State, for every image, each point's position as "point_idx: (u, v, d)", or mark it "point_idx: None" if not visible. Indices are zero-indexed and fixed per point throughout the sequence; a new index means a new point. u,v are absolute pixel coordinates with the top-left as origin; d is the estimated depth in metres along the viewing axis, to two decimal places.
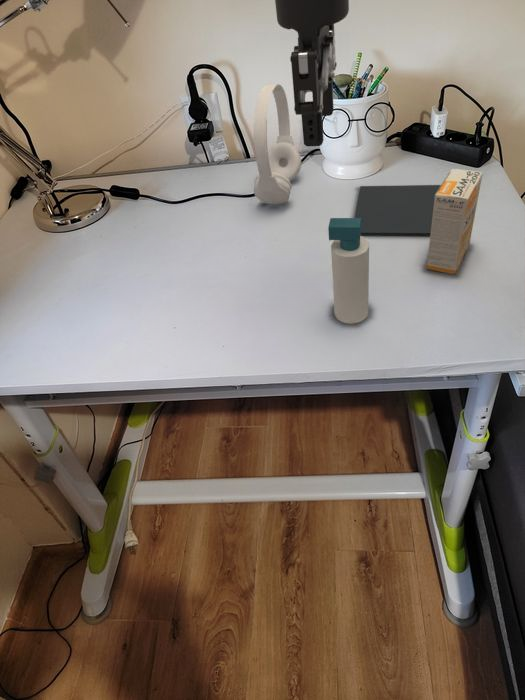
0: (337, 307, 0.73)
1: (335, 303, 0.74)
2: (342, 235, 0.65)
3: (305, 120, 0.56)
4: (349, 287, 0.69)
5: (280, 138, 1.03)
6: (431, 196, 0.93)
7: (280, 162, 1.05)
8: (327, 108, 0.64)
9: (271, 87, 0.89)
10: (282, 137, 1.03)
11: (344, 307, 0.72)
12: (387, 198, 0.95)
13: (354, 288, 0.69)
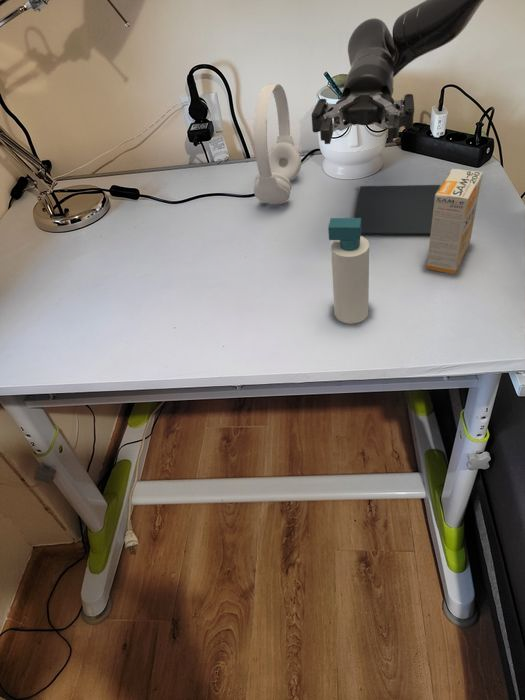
0: (337, 307, 0.73)
1: (335, 303, 0.74)
2: (342, 235, 0.65)
3: None
4: (349, 287, 0.69)
5: (280, 138, 1.03)
6: (431, 196, 0.93)
7: (280, 162, 1.05)
8: None
9: (271, 87, 0.89)
10: (282, 137, 1.03)
11: (344, 307, 0.72)
12: (387, 198, 0.95)
13: (354, 288, 0.69)
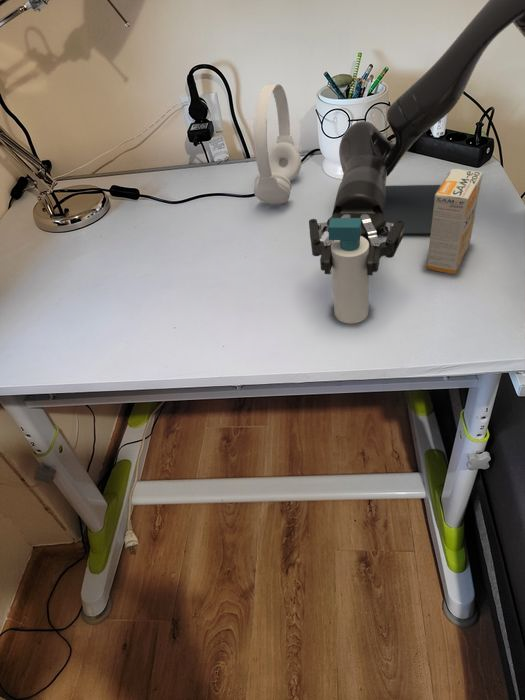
0: (337, 307, 0.73)
1: (335, 303, 0.74)
2: (342, 235, 0.65)
3: None
4: (349, 287, 0.69)
5: (280, 138, 1.03)
6: (431, 196, 0.93)
7: (280, 162, 1.05)
8: None
9: (271, 87, 0.89)
10: (282, 137, 1.03)
11: (344, 307, 0.72)
12: (387, 198, 0.95)
13: (354, 288, 0.69)
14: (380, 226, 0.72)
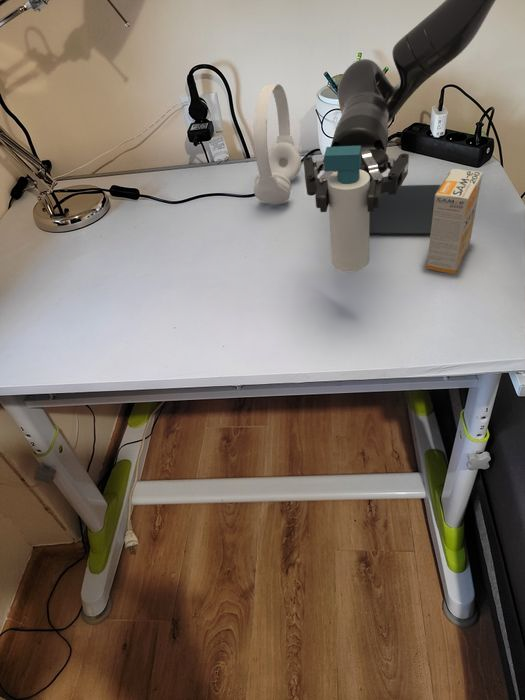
0: (334, 252, 0.67)
1: (332, 249, 0.67)
2: (339, 165, 0.58)
3: None
4: (348, 227, 0.62)
5: (280, 138, 1.03)
6: (431, 196, 0.93)
7: (280, 162, 1.05)
8: None
9: (271, 87, 0.89)
10: (282, 137, 1.03)
11: (342, 252, 0.65)
12: (387, 198, 0.95)
13: (353, 229, 0.63)
14: (382, 162, 0.65)
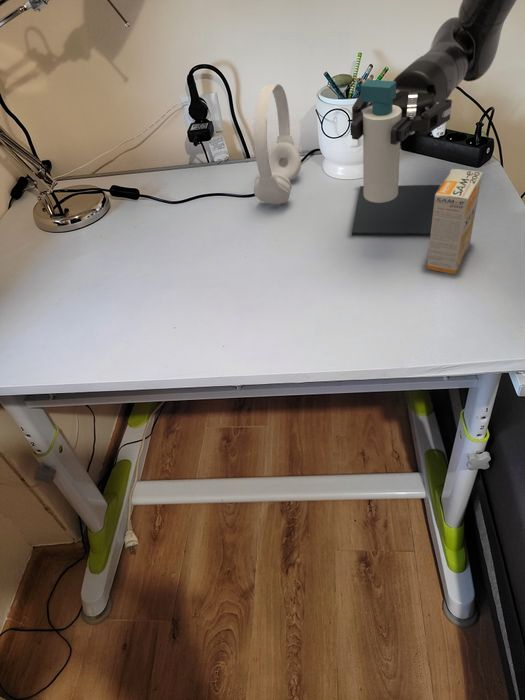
0: (364, 182, 0.74)
1: (363, 178, 0.74)
2: (373, 96, 0.65)
3: None
4: (374, 157, 0.70)
5: (280, 138, 1.03)
6: (431, 196, 0.93)
7: (280, 162, 1.05)
8: None
9: (271, 87, 0.89)
10: (282, 137, 1.03)
11: (368, 182, 0.73)
12: None
13: (378, 159, 0.70)
14: (426, 104, 0.70)
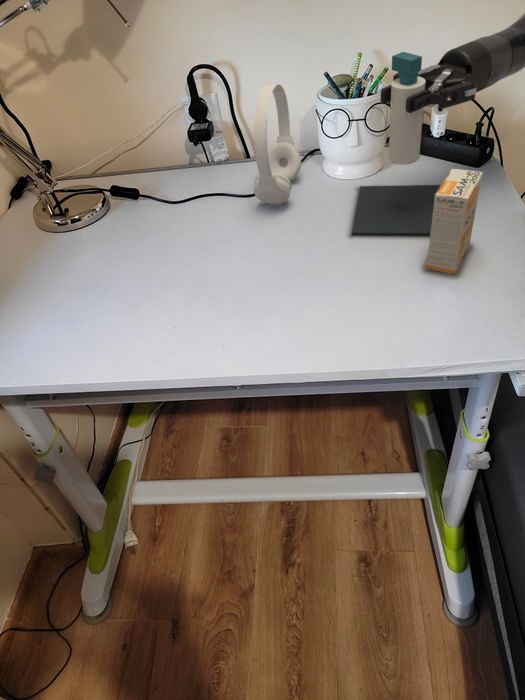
0: (389, 143, 0.84)
1: None
2: (399, 67, 0.76)
3: None
4: (394, 121, 0.80)
5: (280, 138, 1.03)
6: (431, 196, 0.93)
7: (280, 162, 1.05)
8: None
9: (271, 87, 0.89)
10: (282, 137, 1.03)
11: (390, 143, 0.83)
12: (387, 198, 0.95)
13: (398, 124, 0.80)
14: (456, 82, 0.77)
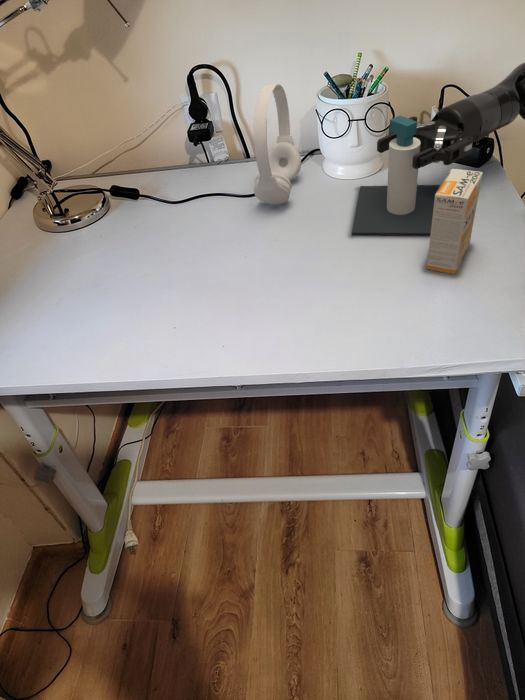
0: (387, 195, 0.91)
1: None
2: (397, 130, 0.82)
3: None
4: (392, 177, 0.87)
5: (280, 138, 1.03)
6: (431, 196, 0.93)
7: (280, 162, 1.05)
8: None
9: (271, 87, 0.89)
10: (282, 137, 1.03)
11: (388, 195, 0.90)
12: None
13: (395, 180, 0.86)
14: (451, 139, 0.83)
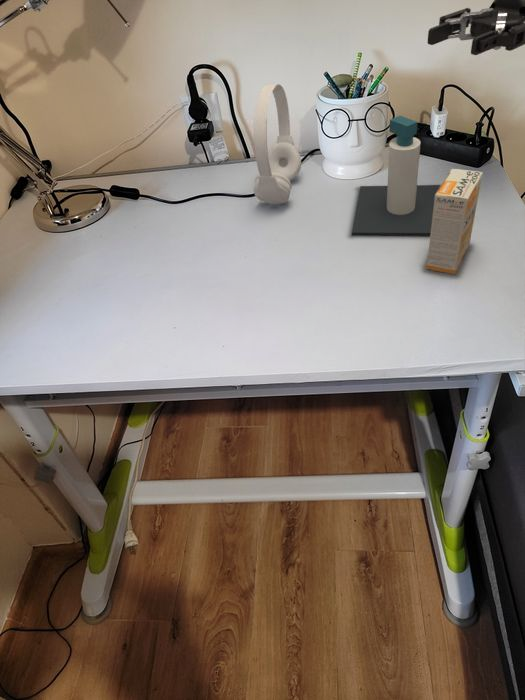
0: (387, 195, 0.91)
1: None
2: (397, 130, 0.82)
3: None
4: (392, 177, 0.87)
5: (280, 138, 1.03)
6: (431, 196, 0.93)
7: (280, 162, 1.05)
8: None
9: (271, 87, 0.89)
10: (282, 137, 1.03)
11: (388, 195, 0.90)
12: None
13: (395, 180, 0.86)
14: (513, 24, 0.75)
